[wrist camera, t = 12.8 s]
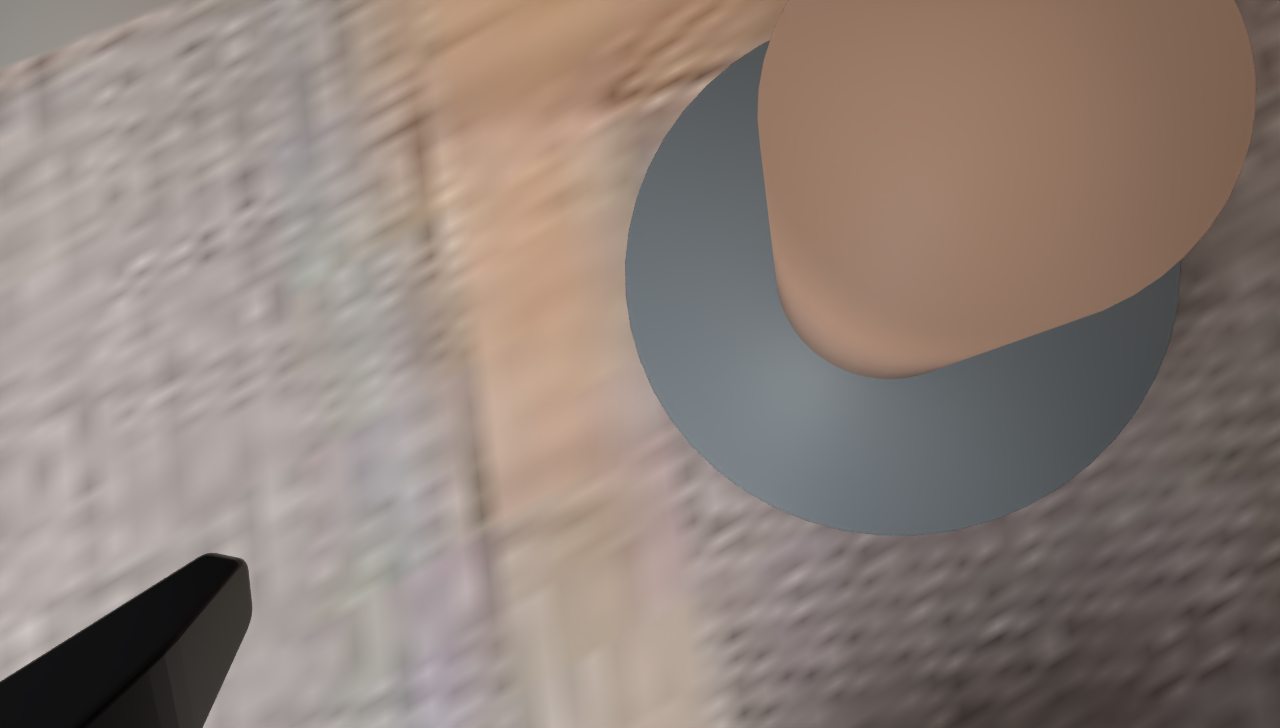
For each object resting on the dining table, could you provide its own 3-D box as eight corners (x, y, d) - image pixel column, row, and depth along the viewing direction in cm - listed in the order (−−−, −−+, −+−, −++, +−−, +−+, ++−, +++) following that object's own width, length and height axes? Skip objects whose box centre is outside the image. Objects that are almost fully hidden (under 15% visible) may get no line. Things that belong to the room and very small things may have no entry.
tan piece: (1026, 359, 18) (1305, 286, 8) (794, 394, 19) (796, 366, 9) (984, 138, 18) (1201, -182, 9) (760, 182, 19) (726, -64, 10)
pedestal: (1223, 202, 20) (1297, 165, 17) (955, 613, 21) (982, 645, 18) (798, -16, 22) (798, -81, 20) (565, 361, 23) (531, 352, 20)
